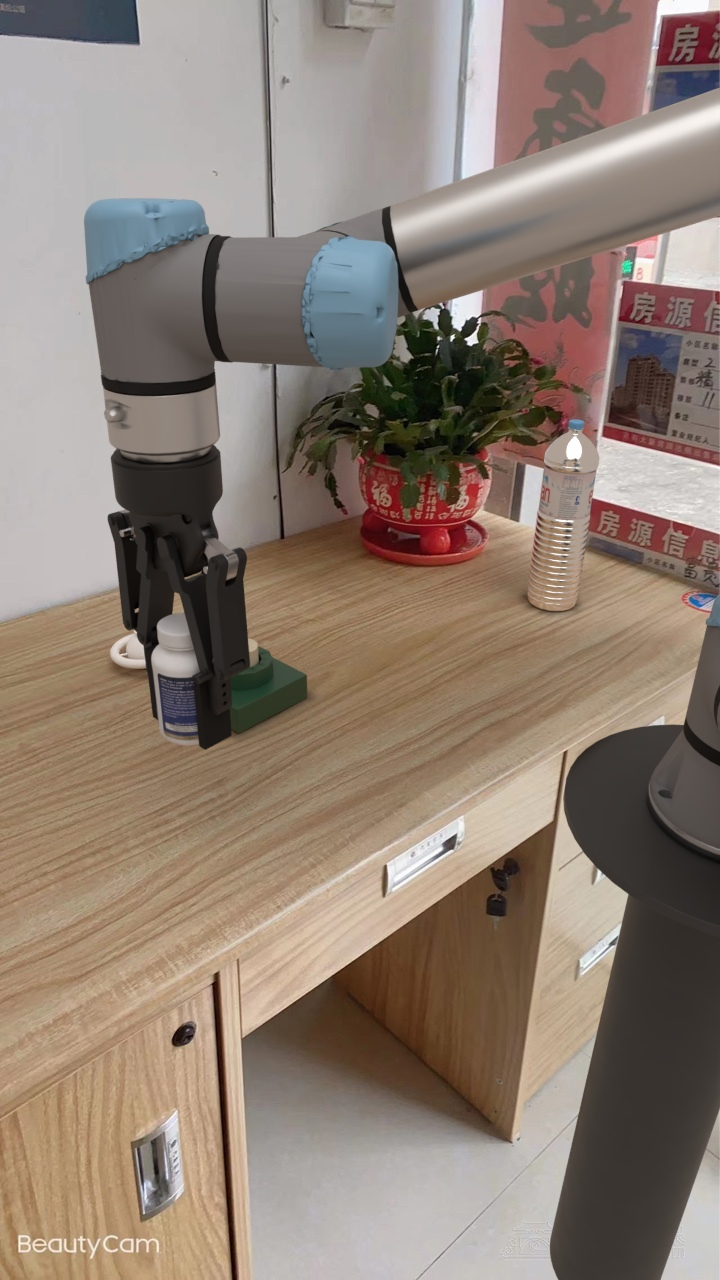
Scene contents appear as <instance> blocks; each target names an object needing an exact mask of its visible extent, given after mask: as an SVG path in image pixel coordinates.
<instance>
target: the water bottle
mask: <svg viewBox="0 0 720 1280" xmlns="http://www.w3.org/2000/svg"><path fill="white" fill-rule="evenodd" d="M567 428H568V431H567V432H565V433H563V434H562V435H560V436H558V437H557V438H556V439H554V441H552V443H550V445H548V447H547V448H546V449H545V451H544V458H543V473H542V481H541V488H540V494H539V502H538V509H537V512H536V518H535V519H536V520H535V530H534V537H533V543H532V552H531V561H530V568H529V574H528V581H527V582H528V584H527V592H526V593H527V595H526V596H527V599H528V602H529V604H531V605H532V606H533V607H535V608H537V609H540V610H543V611H547V612H565V611H569V610H571V609H573V608H574V607H575V606H576V605H577V604H576V603H577V601H578V597H579V591H580V585H581V578H582V572H583V565H584V559H585V553H586V546H587V541H588V540H587V539H588V535H589V534H588V533H589V527H590V520H591V511H592V510H591V509H592V502H593V496H594V491H595V490H594V489H595V485H596V484H595V483H596V476H597V470H598V469H599V465H600V464H599V463H600V454H599V452H598V449H597V448H596V446H595V444H594V443H593V442H592V440H591V439H590V438H589V437H588V436H587V435H585V434H584V433H583V430H584V428H585V421H584V420H582V419H577V418H576V419H575V418H574V419H569V421H568V427H567Z"/></svg>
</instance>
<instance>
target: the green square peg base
mask: <svg viewBox="0 0 720 1280" xmlns="http://www.w3.org/2000/svg"><path fill="white" fill-rule="evenodd" d="M258 656H259V662H258V664H257V665H255V666H253V667H250V668H249V669H247V670H245V671H243V672H241V673H239V674H237V675H235V676H233V677H231V691H232V692H231V693H232V706H231V708H230V718H231V731H233V732H235V733H236V734H241V733H242V732H243V733H244V732H245V731H246V730H249V729H250V728H252V727H254V726H257V725H258V724H260V723H262V722H263V721H265V720H268V719H269V718H271V717H274V716H275V715H277V714H280V713H281V712H283V711H285V710H287V709H288V708H291V707H292V706H294V705H296V704H298V703H300V702H302V701H303V700H306V699H307V698H308V675H307V674H306V673H305V672H302V671H300V670H298V669H296V668H294V667H292V666H291V665H289V664H287V663H285V662H283V661H281V660H279V659H277V658H276V657H273V656H272V654H271V652H270V651H269V650H267V649H266V648H264V647H262V646H260V645H258Z"/></svg>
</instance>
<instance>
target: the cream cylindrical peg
mask: <svg viewBox="0 0 720 1280" xmlns="http://www.w3.org/2000/svg"><path fill="white" fill-rule="evenodd" d="M248 644H249V656H250V667H253V666H255V665H257V664H258V662H259V656H258V646H259V643H258V641H256V640H254V639H252V638H249V637H248Z"/></svg>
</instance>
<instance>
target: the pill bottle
mask: <svg viewBox="0 0 720 1280" xmlns="http://www.w3.org/2000/svg"><path fill="white" fill-rule="evenodd" d="M157 634H158V641H159V645H158V646H157V647H156V648H155V649H154V651H153V653H152V656H151V662H152V672H153V681H154V689H155V698H156V707H157V715H158V720H157V723H158V729H159V733H160V735H161V736H162V737H163V739H165V740H166V741H168V742H170V743H171V744H175V745H179V746H185V747H187V746H190V747H191V746H199V738H198V727H197V716H196V705H195V694H194V683H193V677H192V675H195V674H197V673H199V672H200V670H199V667H198V663H197V659H196V655H195V651H194V647H193V644H192V640H191V636H190V632H189V628H188V625H187V621H186V617H185V613H184V611H183V612H177V613H172V615H168V616H166V617H164V618H162V619H161V620H160V621H159V622H158V624H157Z"/></svg>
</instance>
